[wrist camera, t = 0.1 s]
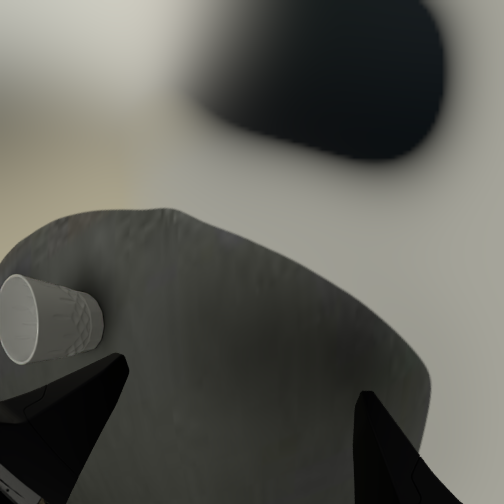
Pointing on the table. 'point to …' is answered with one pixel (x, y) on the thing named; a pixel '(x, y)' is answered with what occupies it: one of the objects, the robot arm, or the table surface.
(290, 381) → the table surface
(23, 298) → the white cup
